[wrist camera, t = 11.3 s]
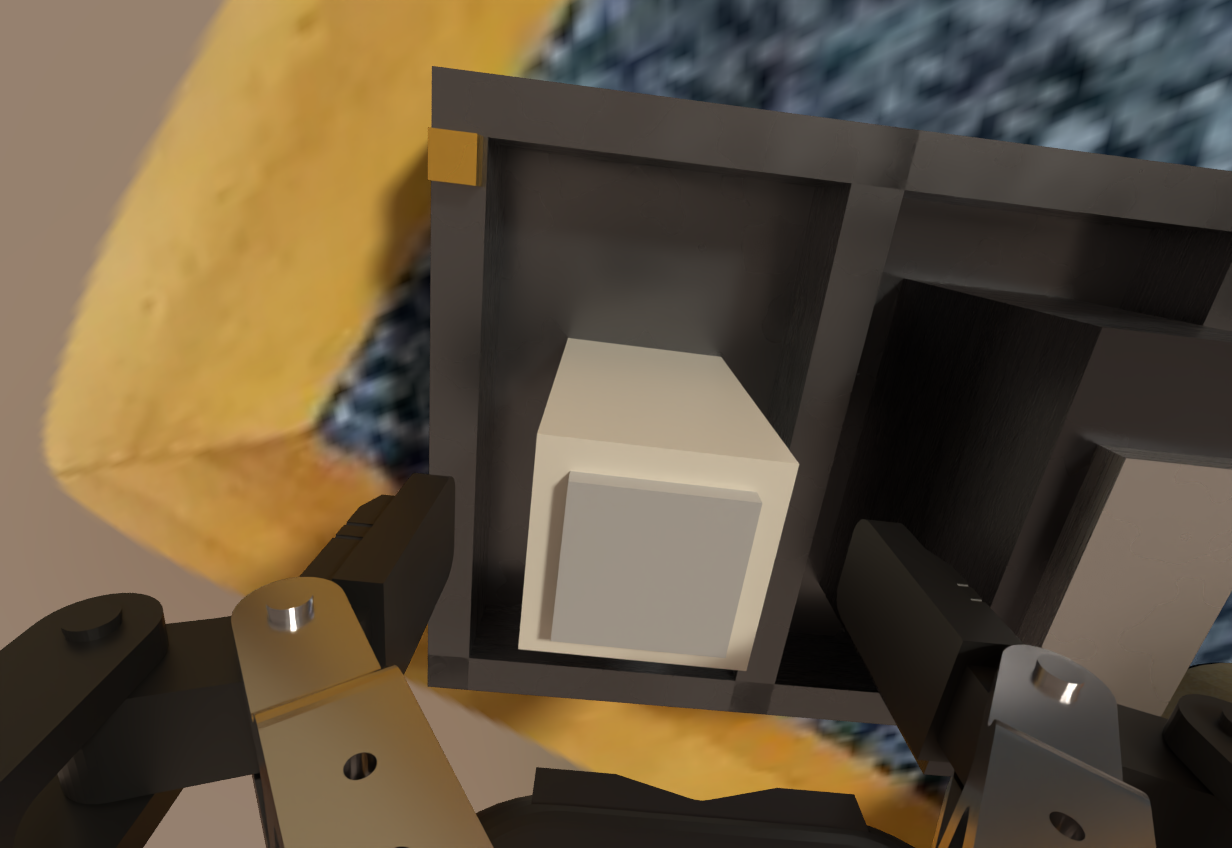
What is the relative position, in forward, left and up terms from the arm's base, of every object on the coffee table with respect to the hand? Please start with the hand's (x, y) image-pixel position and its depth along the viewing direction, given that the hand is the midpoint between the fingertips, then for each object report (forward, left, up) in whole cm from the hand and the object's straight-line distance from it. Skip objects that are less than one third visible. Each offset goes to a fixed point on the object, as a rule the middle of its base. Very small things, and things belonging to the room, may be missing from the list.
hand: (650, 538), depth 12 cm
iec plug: (0, 0, -6) cm, 6 cm away
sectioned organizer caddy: (-4, 0, -7) cm, 8 cm away
